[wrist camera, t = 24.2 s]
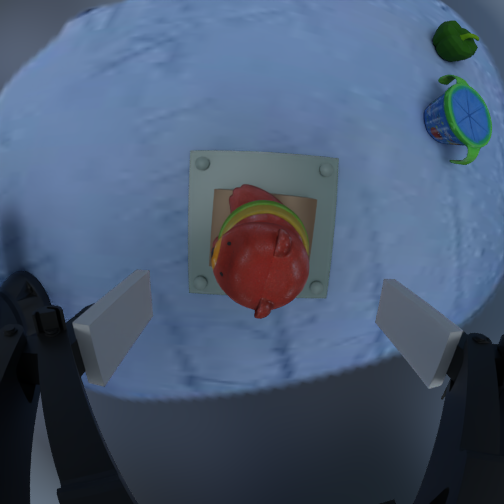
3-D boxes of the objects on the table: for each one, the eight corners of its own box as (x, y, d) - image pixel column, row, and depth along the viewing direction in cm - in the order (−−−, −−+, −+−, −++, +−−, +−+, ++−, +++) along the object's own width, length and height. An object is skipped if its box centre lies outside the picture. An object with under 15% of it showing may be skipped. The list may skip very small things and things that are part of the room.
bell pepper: (425, 52, 34) (453, 34, 25) (427, 26, 32) (452, 7, 23) (457, 74, 35) (486, 61, 25) (458, 47, 33) (484, 33, 23)
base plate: (190, 290, 45) (187, 295, 43) (191, 151, 40) (188, 149, 38) (324, 296, 45) (327, 300, 43) (336, 159, 40) (340, 157, 38)
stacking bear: (236, 179, 34) (218, 171, 17) (311, 208, 35) (364, 231, 18) (207, 258, 36) (168, 320, 19) (279, 285, 37) (298, 364, 20)
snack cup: (412, 77, 36) (442, 59, 26) (454, 94, 36) (487, 82, 26) (415, 159, 39) (451, 155, 30) (458, 170, 40) (494, 170, 30)
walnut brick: (215, 255, 42) (208, 266, 37) (220, 188, 40) (214, 189, 34) (300, 263, 43) (307, 275, 37) (308, 197, 40) (317, 199, 35)
